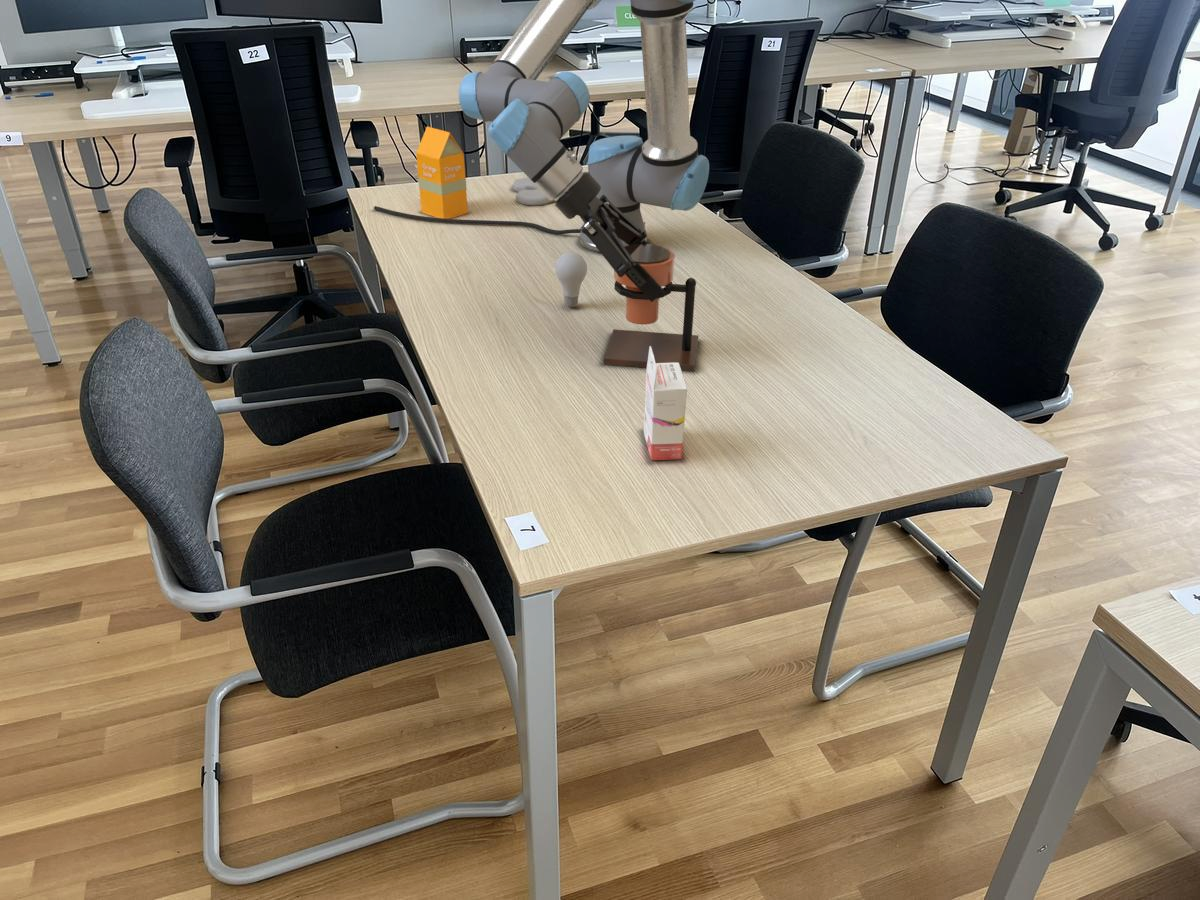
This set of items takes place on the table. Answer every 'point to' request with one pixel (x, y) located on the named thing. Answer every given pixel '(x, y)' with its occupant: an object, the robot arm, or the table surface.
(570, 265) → the lightbulb
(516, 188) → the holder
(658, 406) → the ink cartridge box
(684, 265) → the table surface
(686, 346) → the ring stand
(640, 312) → the terracotta pot
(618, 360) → the ring stand base
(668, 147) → the robot arm
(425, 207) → the orange juice
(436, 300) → the table surface
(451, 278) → the table surface
